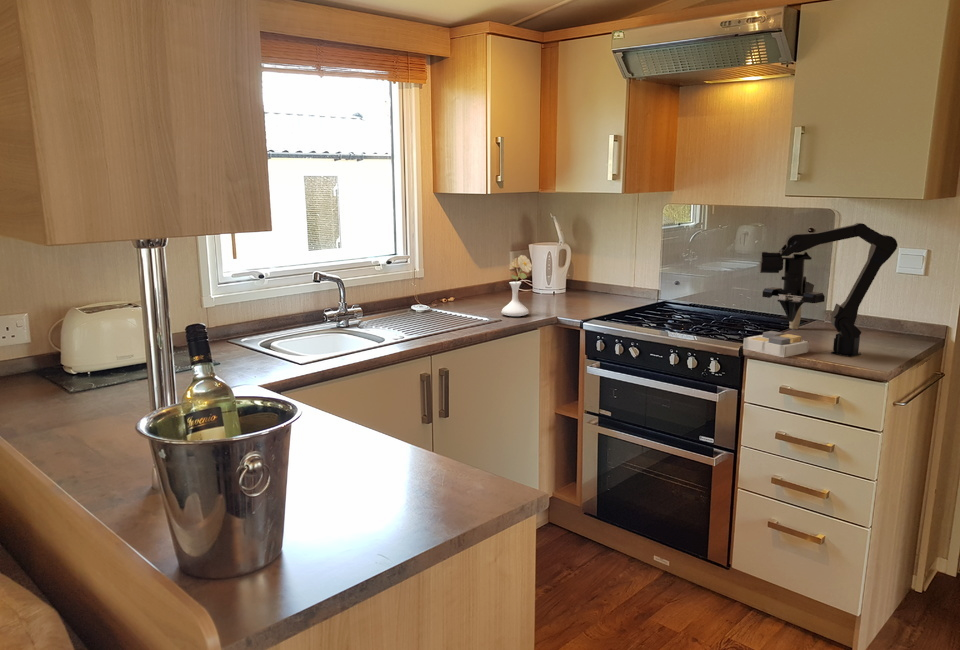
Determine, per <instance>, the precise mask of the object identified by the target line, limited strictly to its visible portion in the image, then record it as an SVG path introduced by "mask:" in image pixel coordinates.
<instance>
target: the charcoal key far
mask: <svg viewBox="0 0 960 650" xmlns="http://www.w3.org/2000/svg"><path fill="white" fill-rule="evenodd" d="M762 335H763V337H765V338H770V337H775V336H781V335H785V334H784V332H779V331H774V330H769V331H763V332H762Z"/></svg>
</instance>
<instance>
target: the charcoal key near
mask: <svg viewBox="0 0 960 650" xmlns="http://www.w3.org/2000/svg"><path fill="white" fill-rule="evenodd" d="M768 343H773V344H778V345H785V344H790V338H785V337H780V336H775V337H770V338H769V342H768Z"/></svg>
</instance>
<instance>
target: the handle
mask: <svg viewBox="0 0 960 650" xmlns="http://www.w3.org/2000/svg"><path fill="white" fill-rule="evenodd" d="M796 296H797V295H796ZM792 299H793V298H792ZM801 317H802V305H801V306H800V308H799V310H798V312H797V314H796V316H795V318H794V320H793V322H789V321H788V322H789V323H788V324H789V326H788V327H789V329H790V330H799V328H800V323H801Z"/></svg>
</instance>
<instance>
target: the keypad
mask: <svg viewBox="0 0 960 650" xmlns="http://www.w3.org/2000/svg"><path fill="white" fill-rule="evenodd" d="M759 337H761V338H765V337H763V334H759V335H753V336H748V337H744V338H743V345H742V349H743V350H747V351H752V352H753V351H754V352H757V353H760V354H761V353H762V354H767V355H770V356H775V357H781V358H788V357H792V356H797V355H801V354H806V353H809V346H810V344H809V343H810V342H809V341H808V340H804V339H801V341H800V342H795V343H791V342H790V344H785V345H778V344H773V343H768V342H769V341H765V342H763V341H758V340H753V339H754V338H759ZM766 339H769V338H766Z"/></svg>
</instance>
